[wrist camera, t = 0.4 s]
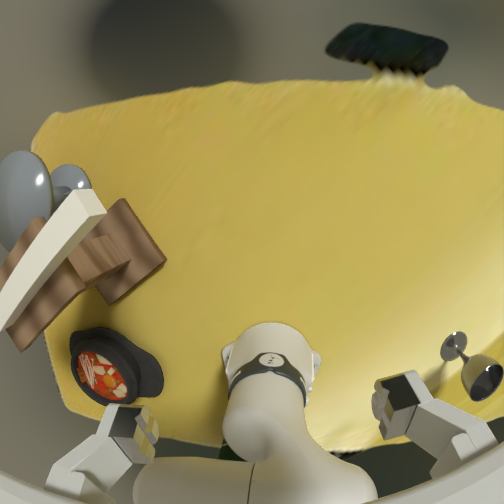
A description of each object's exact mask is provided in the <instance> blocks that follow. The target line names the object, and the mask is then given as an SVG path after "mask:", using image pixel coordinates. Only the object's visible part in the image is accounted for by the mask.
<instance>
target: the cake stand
mask: <svg viewBox="0 0 504 504" xmlns="http://www.w3.org/2000/svg"><path fill="white" fill-rule="evenodd" d="M77 189H92V187H91V183H90V180H89V178H88V176H87V174H86V173H85V172H84V171H83V170H82V169H81V168H80V167H78V166H76V165H71V164H65V165H62V166H59V167H58V168H56V169H55V170H54V171H53V172H52V173H51V175H50V174H49V172H48V169H47V167H46V165H45V163H44V162H43V161H42V159H41V158H40V157H39V156H38V155H36V154H35V153H33V152H30V151H16V152H13V153H11V154H9V155H8V156H7V157H6V158H5V159H4V160H3V162H2V163H1V164H0V243H1V244H2V245H3V247H4V248H5V249H6V250H7V251H9V252H11V251H12V249H13V248H14V246H15V244H16V243H17V241H18V240H19V238H20V237H21V235H22V233H23V232H24V230H25V229H26V227H27V226H28V225H29V223H30V222H31V220H32V219H33V218H37V217H43V216H44V217H45V219H46V221H47V222H48V220H49V219H50V218H51V217H52V215H53V214H54V213H55V211H56V210H57V209H58V208H59V206H60V205H61V204H62V203H63V201H64V200H65V199H66V198H67V197H68V195H69V194H70V193H71V192H72V191H73V190H77Z"/></svg>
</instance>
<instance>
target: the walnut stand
mask: <svg viewBox="0 0 504 504" xmlns="http://www.w3.org/2000/svg"><path fill="white" fill-rule="evenodd" d="M46 223H47V221H46V219H45V217H44V216H43V217H37V218H33V219H32V220H31V222H30V223H29V225H28V226H27V227H26V229H25V230H24V232H23V233H22V235H21V237H20V238H19V240H18V241H17V243H16V244H15V246H14V248H13V249H12V251H11V252H10V254H9V256H8V258H7V259H6V261H5V263H4V264H3V266H2V268H1V269H0V292H1V290H2V289H3V287H4V285H5V284H6V282H7V280H8V279H9V277H10V275H11V274H12V272H13V271H14V269H15V267H16V266H17V264H18V263H19V261H20V260H21V258H22V257H23V255H24V254H25V252H26V251H27V249H28V248H29V246H30V245H31V244H32V242H33V241H34V239H35V238H36V237H37V235H38V234H39V232H40V231H41V230H42V228H43V227H44V226H45V224H46ZM166 259H167V258H166V257H165V256H164V254H163V253H162V251H161V250H160V249H159V247H158V246H157V244H156V243H155V242H154V240H153V239H152V237H151V236H150V235H149V233H148V232H147V230H146V229H145V227H144V226H143V225H142V223H141V222H140V220H139V219H138V217H137V216H136V214H135V213H134V211H133V210H132V208H131V207H130V205H129V204H128V202H127V201H126V199H125V198H122V199H119V200H118V201H117V202H116V203H115V204H114V205H113V206H112V207H111V208H110V209H109V210H108V211H107V214H106V215H105V216H104V217H103V218H102V219H101V220H100V221H99V222H98V223H97V224H96V226H95V227H94V228H93V229H92V230H91V231H90V232H89V233H88V234H87V235H86V236H85V237H84V238H83V239H82V240H81V242H80V243H79V244H78V245H77V246H76V247H75V248H74V249H73V250H72V252H71V253H70V254H69V255H68V256H67V257H66V258H65V260H64V261H63V262H62V263H61V264H60V265H59V267H58V268H57V269H56V270H55V271H54V272H53V274H52V275H51V276H50V277H49V278H48V280H47V281H46V282H45V283H44V285H43V286H42V287H41V288H40V290H39V291H38V292H37V293H36V295H35V296H34V297H33V299H32V300H31V301H30V303H29V304H28V305H27V307H26V308H25V309H24V311H23V312H22V313H21V315H20V316H19V317H18V319H17V320H16V322H15V323H14V324H13V325H11V326H10V327H8V328H6V331H7V332H8V334H9V336H10V337H11V339H12V340H13V342H14V343H15V345H16V347H17V348H18V350H19V351H20V352H23V351H24V350H26V349H27V348H28V347H30V345H31V344H32V343H33V342H34V341H35V340H36V339H37V337H39V335H40V334H41V333H42V332H43V331H44V330H45V329H46V328H47V327H48V326H49V325H50V324H51V323H52V321H53V320H54V319H55V318H56V317H57V316H58V315H59V314H60V313H61V312H62V311H63V310H64V309H65V308H66V307H67V306H68V305H69V304H70V303H71V302H72V301H73V300H74V299H75V298H76V297H77V296H78V295H79V294H80V293H82V292H84V291H86V290H88V289H89V288H91V287H93V286H96V288H97V289H98V291H99V292H100V294H101V295H102V297H103V298H104V299H105V301H106V302H107V304H108V305H111V304H112V303H114V302H115V301H116V300H117V299H119V298H120V297H121V296H122V295H123V294H125V293H126V292H127V291H128V290H129V289H131V288H132V287H133V286H134V285H136V284H137V283H138V282H139V281H140V280H142V279H143V278H144V277H145V276H147V275H148V274H149V273H150V272H151V271H153V270H154V269H155V268H156V267H158V266H159V265H160V264H161V263H163V262H164V261H165V260H166Z"/></svg>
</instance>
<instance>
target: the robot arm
mask: <svg viewBox="0 0 504 504" xmlns="http://www.w3.org/2000/svg"><path fill="white" fill-rule="evenodd" d="M222 356H223V361H224V365H225V370H226V375H227V380H228V384H229V390H228V391H229V393H228V401H229V402H228V406H227V409H226V413H225V416H224V420H223V423H222V432H223V436H224V438H225V441H226V442H227V444H228V445H229V446H230V448H231V449H232V450H233V451H234V452H235V453H236V454H237V455H238V456H239V457H241V458H242V459H244V460H246V461H248V462H242V461H230V460H220V459H211V458H203V457H157V458H155V459H154V455H155V449H154V447H153V445H154V444H155V443H156V442H157V441H158V436H159V430H158V425H157V422H156V420H155V419H154V418H153V417H151V416H150V412H151V411H150V410H149V408H148V406H143V405H128V404H115V403H110V404H109V405H108V406H107V407H106V410H105V412H104V415H103V417H102V420H101V423H100V425H99V428H98V430H97V433H96V435H91V436H90V437H89V438H87V439H86V440H85V441H84V442H82V443H81V444H80V445H78V446H77V447H76V448H75V449H73V450H72V451H71V452H69V453H68V454H67V455H65V456H64V457H63V458H61V459H60V460H59V461H57V462H56V463H55V464H53V467H52V469H51V471H50V474H49V477H48V479H47V482H46V484H45V487H44V489H42V488H39V487H37V486H34V485H32V484H29V483H27V482H25V481H22V480H20V479H18V478H15V477H13V476H11V475H9V474H7V473H5V472H2V471H1V470H0V504H116V503H115V501H114V500H113V499H112V498H110V497H109V496H108V495H107V494H106V492H107V491H108V490H109V489H110V488H111V487H112V486H113V485H114V484H115V482H117V480H118V479H119V478H120V477H121V476H122V475H123V474H124V473H125V472H126V471H127V469H128V468H129V467H130V466H131V465H132V463H140V464H146V465H145V466H144V467H143V469H142V470H141V471H140V472H139V474H138V476H137V478H136V480H135V483H134V487H133V502H134V504H504V442H502V443H501V444H498V442H497V440H496V439H495V437H494V435H493V434H492V432H491V431H490V429H489V428H488V426H487V424H486V422H485V421H484V420H482V419H480V418H478V417H475V416H473V415H471V414H469V413H467V412H465V411H463V410H461V409H459V408H457V407H454V406H452V405H450V404H448V403H446V402H444V401H442V400H440V399H438V398H436V399H433V397H432V395H431V394H430V392H429V390H428V389H427V387H426V385H425V384H424V382H423V381H422V379H421V377H420V376H419V374H418V373H417V371H416V370H411V371H407V372H404V373H399V374H396V375H393V376H389V377H385V378H382V379H378V380H376V382H375V385H374V388H375V390H376V392H375V393H374V394H373V395H372V401H371V402H372V410H373V414H374V416H375V418H376V419H377V420H379V421H380V425H379V429H380V432H381V434H382V437H383V439H384V441H385V440H388V439H392V438H395V437H399V436H402V435H405V434H406V435H405V436H406V437H408V438H409V439H410V440H412V441H413V442H414V443H416V444H417V445H419V446H420V447H421V448H423V449H424V450H426V451H427V452H428V453H430V454H431V455H433V456H434V457H435V458H437V459H438V461H437V462H436V463H435V465H434V466H433V468H432V469H431V471H430V474H431V477H432V480H430V481H427V482H424V483H422V484H419V485H417V486H414V487H412V488H409V489H406V490H404V491H401V492H398V493H395V494H392V495H389V496H386V497H383V498H379V499H378V497H377V491H376V488H375V485H374V483H373V481H372V479H371V478H370V477H369V475H368V474H367V473H366V472H365V471H364V470H363V469H361V468H360V467H359V466H356V465H353V464H350V463H347V462H345V461H343V460H340V459H338V458H336V457H335V456H333V455H331V454H330V453H328V452H327V451H326V450H324V449H323V448H322V447H321V446H320V445H319V444H318V443H317V442H316V441H315V440H314V439H313V438H312V436H311V435H310V433H309V432H308V429H307V425H306V420H305V413H304V408H305V406H307V404H308V401H309V396H308V395H307V393H308V392H311V391H312V385H311V384H312V382H313V381H314V377H315V375H316V373H317V371H318V369H319V366H320V364H321V356H320V355H319V354H318V353H317V352H315V351H314V350H312V349H311V348H310V346H309V345H308V343H307V341H306V340H305V338H304V337H303V336H302V335H301V334H300V333H299V332H298V331H297V330H295V329H293V328H292V327H290V326H287V325H284V324H280V323H263V324H259V325H256V326H253V327H251V328H249V329H248V330H246V331H245V332H244V333H243V334H242V335H241V336H240V337H239V338H238V339H237V340H236V341H235V342H233V343H231V344H228V345H226V346H225V347H224V348H223V350H222ZM228 356H229V358H228Z"/></svg>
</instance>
